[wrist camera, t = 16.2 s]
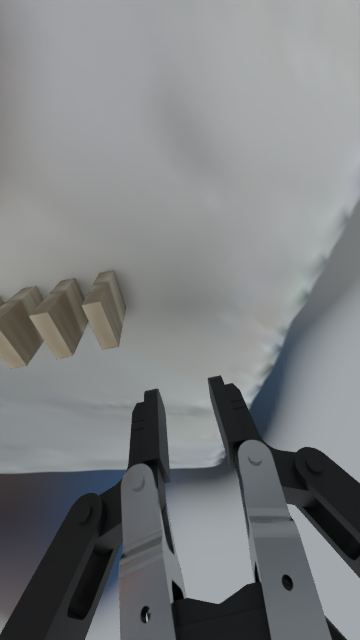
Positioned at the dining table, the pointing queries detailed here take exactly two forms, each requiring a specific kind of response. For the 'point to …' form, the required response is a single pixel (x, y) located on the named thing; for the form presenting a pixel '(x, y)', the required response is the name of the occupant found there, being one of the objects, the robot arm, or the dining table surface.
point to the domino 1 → (19, 328)
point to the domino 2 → (61, 318)
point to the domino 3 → (105, 310)
